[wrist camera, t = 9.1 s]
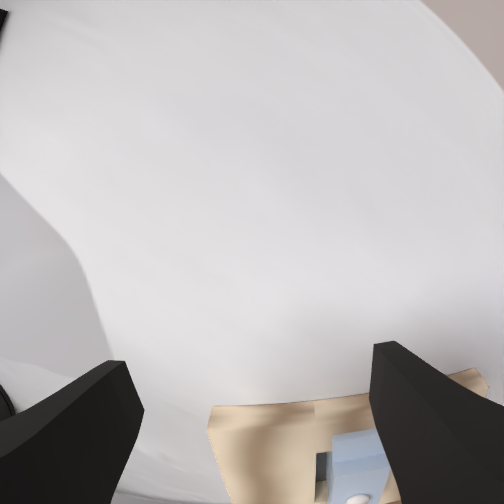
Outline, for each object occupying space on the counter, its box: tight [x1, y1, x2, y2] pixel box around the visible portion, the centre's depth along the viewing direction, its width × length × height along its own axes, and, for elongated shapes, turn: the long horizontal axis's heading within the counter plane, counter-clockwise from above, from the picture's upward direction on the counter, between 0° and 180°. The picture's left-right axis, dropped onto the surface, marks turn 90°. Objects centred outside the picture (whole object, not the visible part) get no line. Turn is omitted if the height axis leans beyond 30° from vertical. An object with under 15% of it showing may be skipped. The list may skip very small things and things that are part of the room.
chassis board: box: [206, 368, 489, 504], centre depth 20 cm, size 20×14×2 cm
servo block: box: [325, 428, 391, 504], centre depth 19 cm, size 4×11×5 cm, turn 7°
